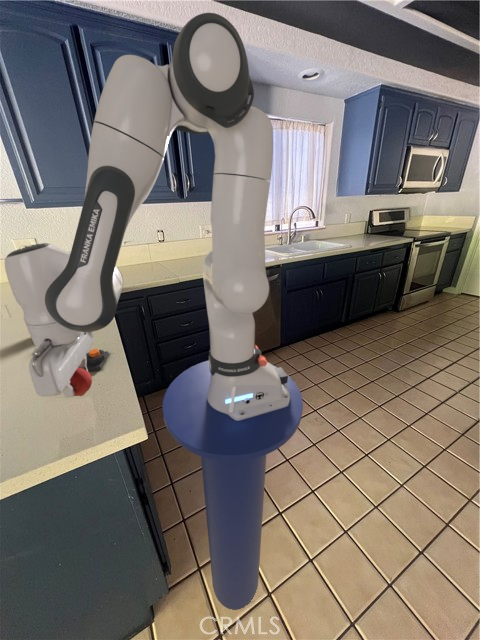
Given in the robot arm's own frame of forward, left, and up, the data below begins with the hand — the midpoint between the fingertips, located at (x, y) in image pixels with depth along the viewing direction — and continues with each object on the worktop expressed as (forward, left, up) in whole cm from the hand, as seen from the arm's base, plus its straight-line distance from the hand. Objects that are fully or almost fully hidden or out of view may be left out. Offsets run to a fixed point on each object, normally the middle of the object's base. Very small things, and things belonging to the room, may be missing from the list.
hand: (77, 383), depth 59 cm
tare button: (+6, -25, -8) cm, 27 cm away
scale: (+10, -25, -11) cm, 29 cm away
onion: (0, 0, -3) cm, 3 cm away
